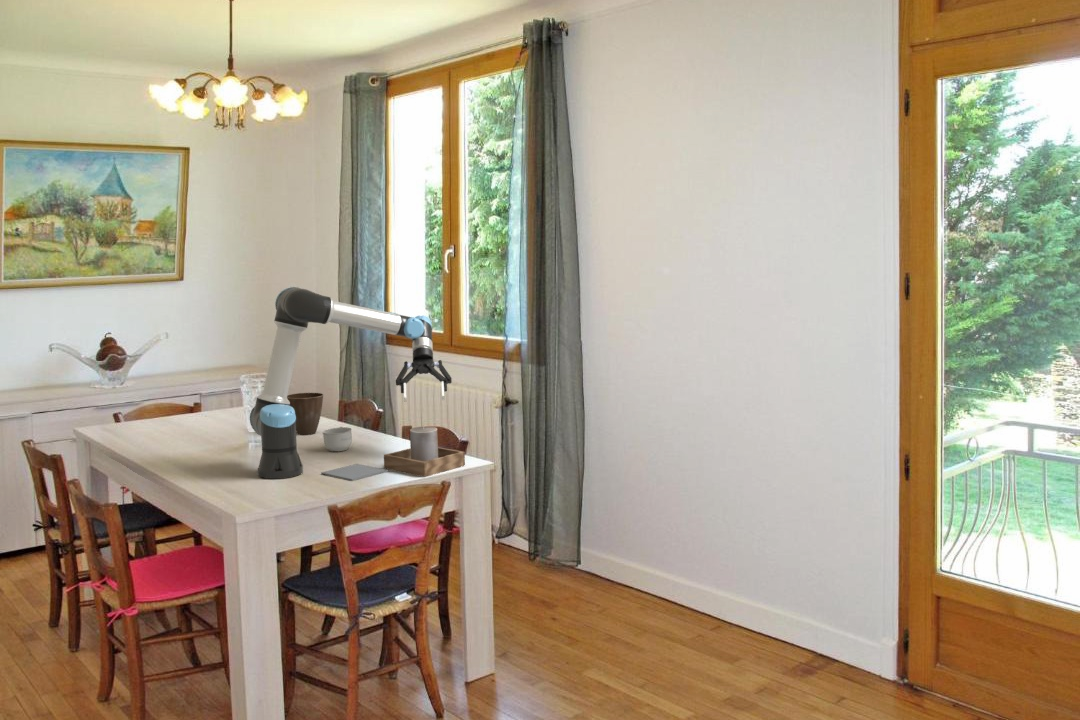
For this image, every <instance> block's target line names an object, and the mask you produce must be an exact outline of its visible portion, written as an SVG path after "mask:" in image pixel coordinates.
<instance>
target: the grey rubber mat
mask: <svg viewBox="0 0 1080 720" xmlns="http://www.w3.org/2000/svg"><path fill="white" fill-rule="evenodd" d="M388 472H389V470H388V469H384V468H380V467H376V466H369V465H365V464H362V463H361V464H360V463H354V464H351V465H350V464H349V465H346V466H343V467H341V466H340V467H338V468H334V469H330V470H329V469H328V470H326V471H322V472H321V475H323V474H325V475H324V476H327V475H330V476H329V477H332V476H334V477H333V478H337V477H338V478H337V479H341V478H342V480H347V481H351V482H354V481H357V480H361V479H365V478H368V477H372V476H376V475H379V474H384V473H388Z"/></svg>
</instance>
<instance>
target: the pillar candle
mask: <svg viewBox="0 0 1080 720" xmlns="http://www.w3.org/2000/svg"><path fill="white" fill-rule="evenodd" d="M409 435H410V436H409V444H410V448H411V459H413V460H419V461H424V462H425V461H429V460H432V459H436V458H438V447H439V444H438V442H439V441H438V438H439V437H438V428H437V427H435V426H425V425H423V426H417V427H412V428H410V429H409Z"/></svg>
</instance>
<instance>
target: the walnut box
mask: <svg viewBox="0 0 1080 720" xmlns="http://www.w3.org/2000/svg"><path fill="white" fill-rule="evenodd" d="M464 465H465V466H466V454H465V451H464V450H463V451H462V450H457V449H451V448H444V447H440V446H438V458H436V459H432V460H429V461H425V462H424V461H419V460H413V459H411V447H410V448H406V449H403V450H398V451H394V452H390V453H386V454H383V469H386V470H388V471H393V472H397V473H402V474H408V475H413V476H418V477H422V478H426V477H429V476H433V474H434V475H437V474H440V472H441V473H443V472H448V471H451V470H455V469H458V468H462V467H464ZM461 466H462V467H461ZM447 470H448V471H447ZM436 473H437V474H436Z"/></svg>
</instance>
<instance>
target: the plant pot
mask: <svg viewBox="0 0 1080 720" xmlns="http://www.w3.org/2000/svg"><path fill="white" fill-rule="evenodd" d="M287 399H288V400H289V402H290V406H291V407H293V409H294V410H295V415H296V434H297V435H299V434H300V435H299V436H308V434H310V435H313V434H316V433H317V431H318V427H319V424H320V419H321V415H322V410H323V401H324V394H323V393H321V392H300V393H299V392H298V393H292V394H288V395H287Z"/></svg>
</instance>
